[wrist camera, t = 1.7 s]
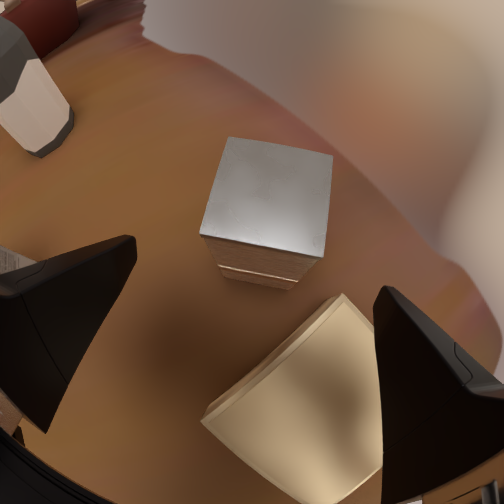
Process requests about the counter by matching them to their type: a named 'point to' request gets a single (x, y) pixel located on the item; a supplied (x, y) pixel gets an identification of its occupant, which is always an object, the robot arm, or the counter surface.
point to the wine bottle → (30, 96)
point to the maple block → (309, 408)
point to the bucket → (43, 21)
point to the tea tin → (268, 212)
